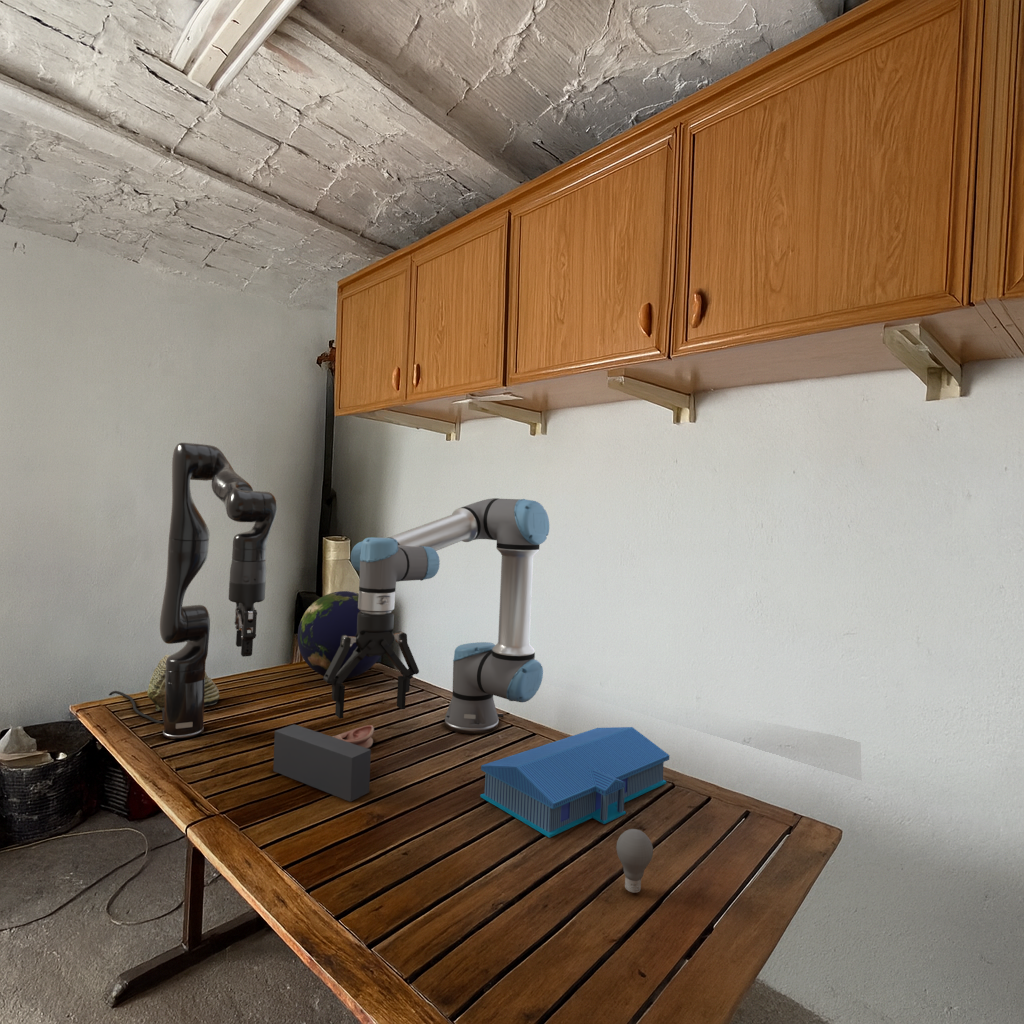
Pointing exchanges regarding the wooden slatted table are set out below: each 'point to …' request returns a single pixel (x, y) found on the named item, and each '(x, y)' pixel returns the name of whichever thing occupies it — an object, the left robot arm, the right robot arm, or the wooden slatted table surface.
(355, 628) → the globe
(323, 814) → the wooden slatted table surface
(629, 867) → the light bulb
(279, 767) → the bar
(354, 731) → the anatomical model
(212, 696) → the fossil
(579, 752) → the model building
